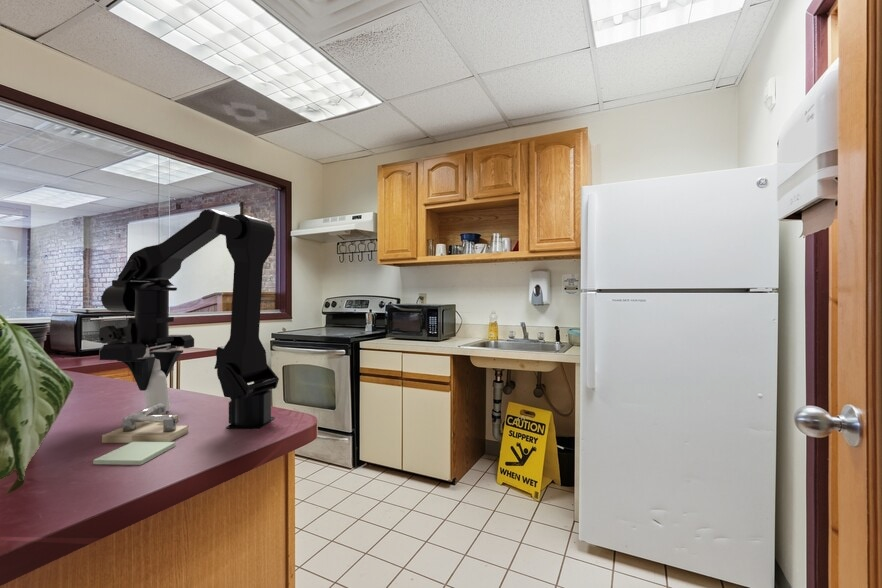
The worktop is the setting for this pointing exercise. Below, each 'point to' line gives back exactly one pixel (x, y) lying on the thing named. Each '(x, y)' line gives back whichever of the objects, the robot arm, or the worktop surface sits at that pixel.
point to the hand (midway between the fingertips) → (151, 387)
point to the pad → (135, 453)
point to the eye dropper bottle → (157, 387)
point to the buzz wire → (147, 427)
